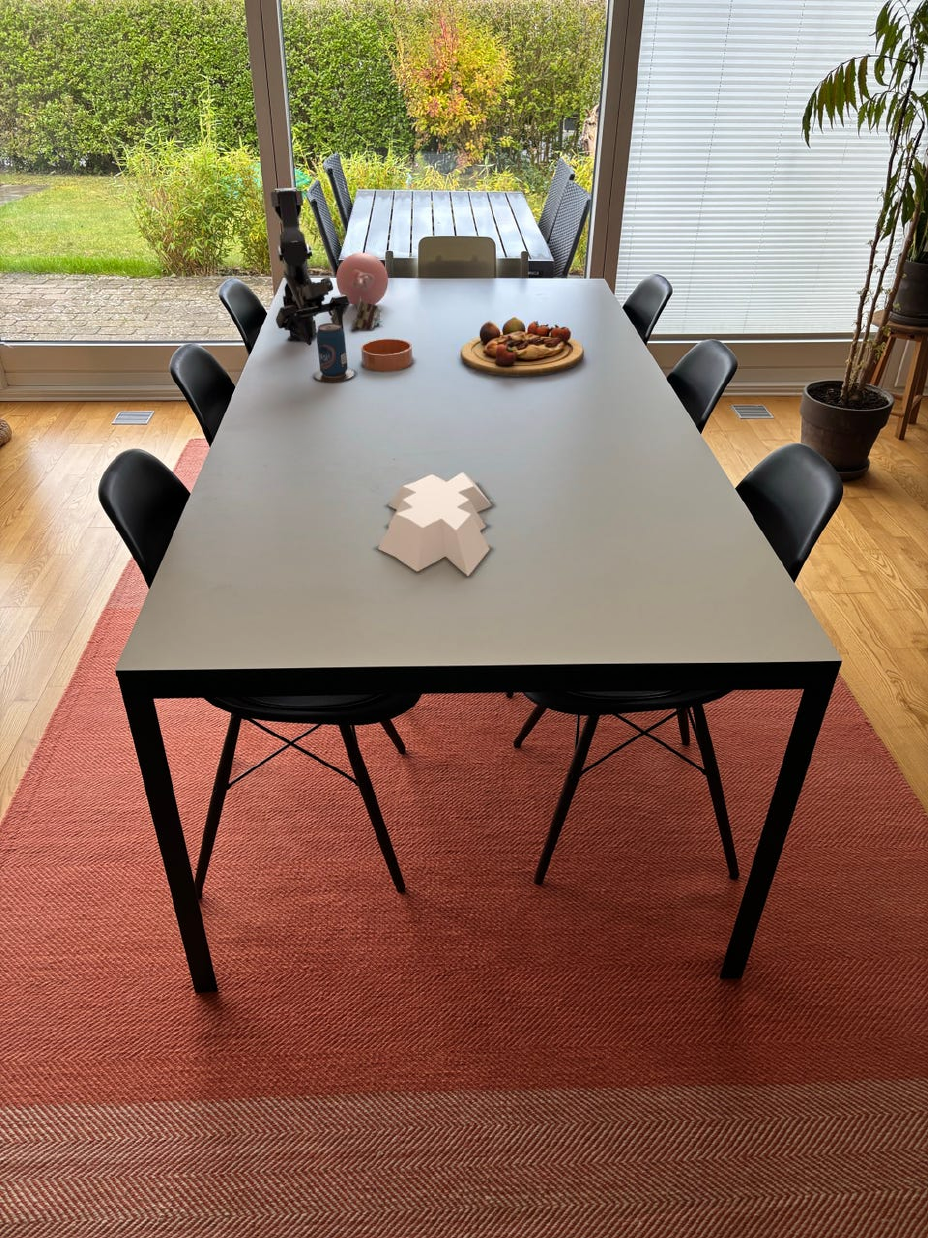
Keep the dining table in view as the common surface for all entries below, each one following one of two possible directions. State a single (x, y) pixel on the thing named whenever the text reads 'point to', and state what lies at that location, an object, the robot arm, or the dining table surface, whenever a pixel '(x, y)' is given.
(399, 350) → the orange bowl
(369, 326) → the chocolate cake
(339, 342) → the soda can
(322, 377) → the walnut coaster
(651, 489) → the dining table surface
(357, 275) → the balloon
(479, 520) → the tapered cross block
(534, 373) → the wooden plate
